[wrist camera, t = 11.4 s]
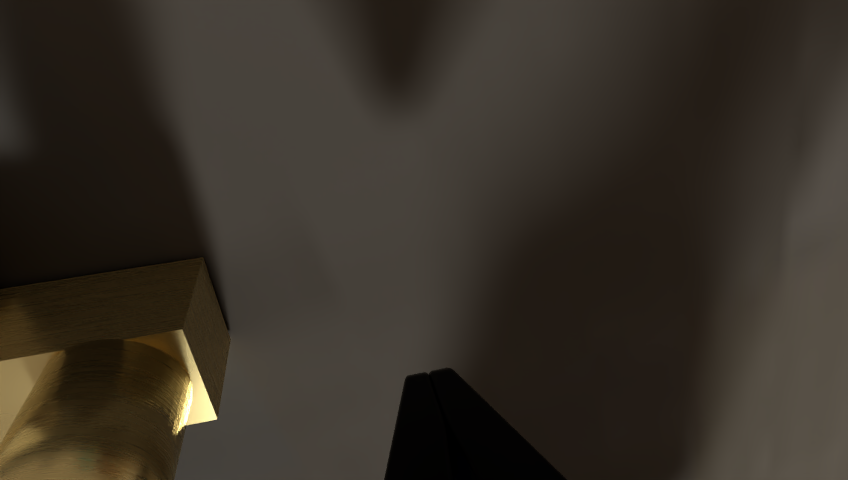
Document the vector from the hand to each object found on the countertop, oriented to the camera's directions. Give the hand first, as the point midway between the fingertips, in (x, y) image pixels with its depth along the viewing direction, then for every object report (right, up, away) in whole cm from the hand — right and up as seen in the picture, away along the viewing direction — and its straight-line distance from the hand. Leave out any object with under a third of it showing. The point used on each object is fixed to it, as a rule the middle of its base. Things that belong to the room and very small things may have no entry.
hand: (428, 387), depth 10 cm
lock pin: (-8, +1, +2) cm, 8 cm away
